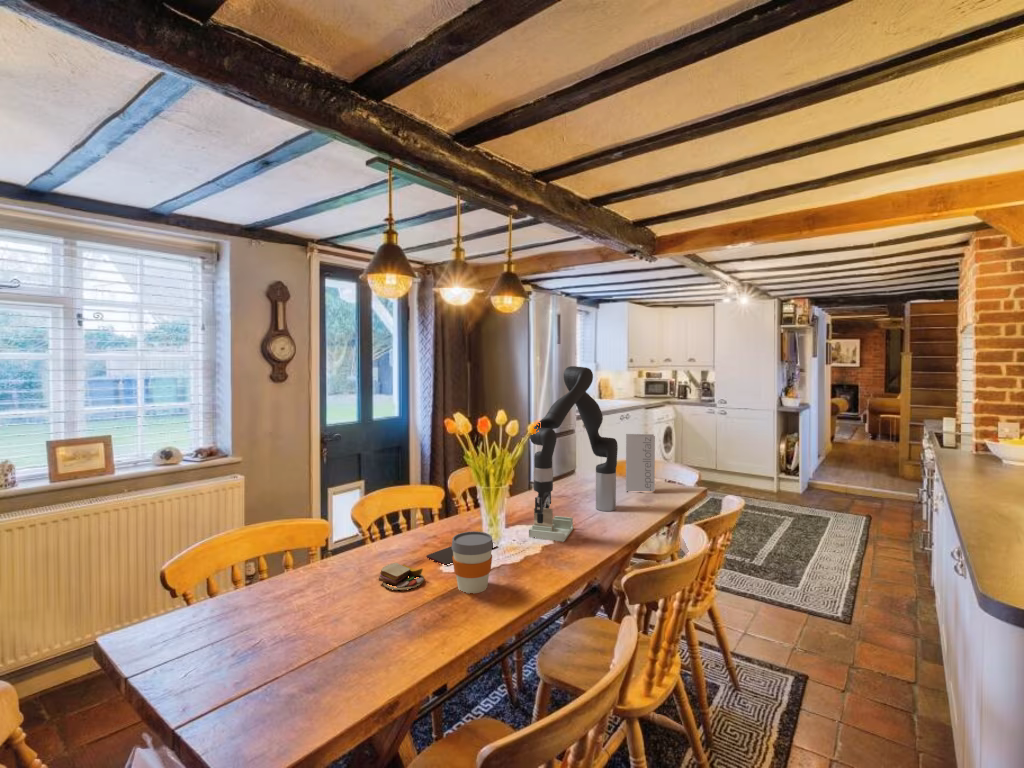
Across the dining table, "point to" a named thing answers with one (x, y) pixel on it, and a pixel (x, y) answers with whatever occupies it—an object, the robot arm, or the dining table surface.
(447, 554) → the smartphone
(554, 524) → the tray
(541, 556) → the dining table surface
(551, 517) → the tan rectangular block
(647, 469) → the brochure
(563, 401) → the robot arm
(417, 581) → the toy sandwich meal
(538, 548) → the dining table surface
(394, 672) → the dining table surface
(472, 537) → the reusable coffee cup
